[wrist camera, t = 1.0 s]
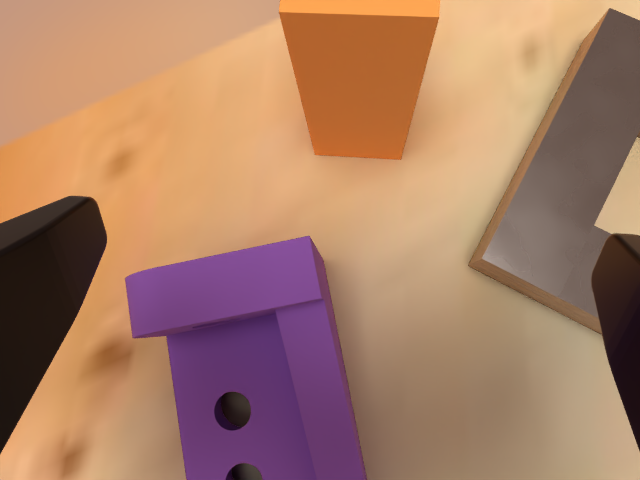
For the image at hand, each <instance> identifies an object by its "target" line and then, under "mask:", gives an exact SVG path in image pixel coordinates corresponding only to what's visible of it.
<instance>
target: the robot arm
mask: <svg viewBox="0 0 640 480" xmlns="http://www.w3.org/2000/svg"><path fill="white" fill-rule="evenodd" d="M106 244H107V234H106V230H105V227H104V224H103V220H102V217H101V214H100V210H99V207H98V204H97V202H96V201H95V200H94V199H93V198H91V197H85V196H68V197H65V198H63V199H60V200H58V201H55V202H53V203H50V204H48V205H45V206H43V207H40V208H38V209H35V210H33V211H30V212H28V213H25V214H23V215H20V216H18V217H15V218H13V219H10V220H8V221H5V222H3V223H0V454H1V452H2V450H3V448H4V447H5V445H6V443H7V441H8V439H9V438H10V436H11V434H12V432H13V430H14V429H15V427H16V425H17V423H18V421H19V420H20V418H21V416H22V414H23V412H24V411H25V409H26V407H27V405H28V403H29V402H30V400H31V398H32V396H33V394H34V393H35V391H36V389H37V387H38V385H39V384H40V382H41V380H42V378H43V376H44V374H45V373H46V371H47V369H48V367H49V365H50V364H51V362H52V360H53V358H54V356H55V355H56V353H57V351H58V349H59V347H60V346H61V344H62V342H63V340H64V338H65V337H66V335H67V333H68V331H69V329H70V328H71V326H72V324H73V322H74V320H75V318H76V316H77V314H78V312H79V310H80V308H81V306H82V303H83V301H84V299H85V296H86V294H87V291H88V289H89V286H90V284H91V282H92V279H93V277H94V274H95V272H96V270H97V267H98V265H99V262H100V260H101V257H102V255H103V253H104V250H105V248H106ZM591 285H592V290H593V295H594V299H595V304H596V308H597V313H598V318H599V322H600V327H601V331H602V336H603V341H604V345H605V350H606V354H607V358H608V362H609V365H610V368H611V371H612V374H613V377H614V380H615V383H616V385H617V388H618V391H619V394H620V397H621V400H622V402H623V405H624V408H625V411H626V414H627V417H628V420H629V422H630V425H631V428H632V431H633V434H634V437H635V439H636V442H637V445H638V448H639V451H640V236H639V235H633V234H618V233H615V234H612V235H610V236H609V237H608V238H607V239H606V241H605V243H604V246H603V248H602V250H601V252H600V255H599V257H598V259H597V262H596V264H595V266H594V269H593V271H592V276H591Z"/></svg>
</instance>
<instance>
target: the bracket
mask: <svg viewBox="0 0 640 480" xmlns="http://www.w3.org/2000/svg"><path fill="white" fill-rule="evenodd" d="M125 281H126V289H127V297H128V305H129V313H130V320H131V328H132V336H133V338H146V337H158V336H167V343H168V351H169V358H170V365H171V372H172V379H173V386H174V393H175V401H176V408H177V415H178V422H179V429H180V436H181V443H182V450H183V458H184V465H185V472H186V479H187V480H234V479H233V476H232V472H231V468H232V467H234V466H235V465H237V464H240V463H248V464H251V465H253V466H255V467H256V468H257V469H258V470H259V472H260V473H261V476H262V479H263V480H367V477H366V472H365V467H364V462H363V457H362V452H361V447H360V442H359V437H358V432H357V427H356V422H355V417H354V412H353V407H352V402H351V397H350V392H349V387H348V382H347V377H346V372H345V367H344V362H343V357H342V352H341V347H340V342H339V337H338V332H337V327H336V322H335V317H334V312H333V307H332V302H331V297H330V292H329V286H328V281H327V276H326V271H325V266H324V261H323V259H322V257H321V255H320V253H319V252H318V250H317V248H316V246H315V245H314V243H313V241H312V239H311V238H310V236H306V237H301V238H296V239H291V240H287V241H282V242H277V243H272V244H267V245H262V246H258V247H253V248H248V249H243V250H238V251H234V252H229V253H224V254H219V255H214V256H209V257H205V258H200V259H195V260H190V261H185V262H181V263H176V264H171V265H166V266H161V267H156V268H152V269H148V270H144V271H140V272H137V273H134V274H132V275H129V276H128V277H126V278H125ZM228 392H238V393H241V394H242V395H244V396H245V397H246V398H247V400H248V401H249V403H250V407H251V415H250V418H249V421H248V422H247V424H246V425H245V426H244V427H239V426H236V425H234V424H232V423H230V422H229V421H228V420H227V419H226V417H225V416H224V414H223V411H222V407H221V399H222V395H223V394H225V393H228Z"/></svg>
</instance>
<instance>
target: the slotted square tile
mask: <svg viewBox="0 0 640 480" xmlns="http://www.w3.org/2000/svg"><path fill="white" fill-rule="evenodd" d="M637 136H638V137H640V20H637V19H635V18H632V17H630V16H628V15H625V14H623V13H621V12H618V11H616V10H613V9H611V8H609V9H608V11H607V12H606V13H605V14H604V16H603V17H602V18H601V19H600V21H599V22H598V23H597V24H596V26H595V27H594V28H593V29H592V31H591V32H590V33H589V34H588V35H587V37H586V38H585V39H584V40H583V42H582V44H581V46H580V48H579V50H578V52H577V54H576V56H575V58H574V60H573V62H572V64H571V66H570V67H569V69H568V71H567V73H566V75H565V77H564V79H563V81H562V83H561V85H560V87H559V89H558V91H557V93H556V95H555V97H554V99H553V101H552V103H551V105H550V106H549V108H548V110H547V112H546V114H545V116H544V118H543V120H542V122H541V124H540V126H539V128H538V130H537V132H536V134H535V136H534V138H533V140H532V142H531V144H530V146H529V147H528V149H527V151H526V153H525V155H524V157H523V159H522V161H521V163H520V165H519V167H518V169H517V171H516V173H515V175H514V177H513V179H512V181H511V183H510V185H509V186H508V188H507V190H506V192H505V194H504V196H503V198H502V200H501V202H500V204H499V206H498V208H497V210H496V212H495V214H494V216H493V218H492V220H491V222H490V224H489V226H488V227H487V229H486V231H485V233H484V235H483V237H482V239H481V241H480V243H479V245H478V247H477V249H476V251H475V253H474V255H473V257H472V259H471V261H470V263H469V265H468V266H470V267H472V268H474V269H476V270H478V271H480V272H482V273H484V274H485V275H487V276H489V277H491V278H493V279H495V280H497V281H499V282H501V283H503V284H505V285H507V286H509V287H511V288H513V289H515V290H516V291H518V292H520V293H522V294H524V295H526V296H528V297H530V298H532V299H534V300H536V301H538V302H540V303H542V304H544V305H546V306H548V307H549V308H551V309H553V310H555V311H557V312H559V313H561V314H563V315H565V316H567V317H569V318H571V319H573V320H575V321H577V322H579V323H580V324H582V325H584V326H586V327H588V328H590V329H592V330H594V331H596V332H598V333H600V334H602V331H601V327H600V322H599V318H598V313H597V308H596V304H595V299H594V295H593V290H592V285H591V276H592V271H593V269H594V266H595V264H596V262H597V259H598V257H599V255H600V252H601V250H602V248H603V246H604V243H605V241H606V239H607V238H608V237H609V236H610V235H612V234H610V233H608V232H606V231H604V230H602V229H600V228H598V227H596V226H594V224H595V222H596V220H597V217H598V215H599V213H600V211H601V209H602V207H603V205H604V203H605V201H606V199H607V197H608V195H609V193H610V191H611V189H612V187H613V185H614V183H615V181H616V178H617V176H618V174H619V172H620V170H621V168H622V166H623V164H624V162H625V160H626V158H627V156H628V154H629V152H630V150H631V148H632V146H633V144H634V141H635V139H636V137H637Z"/></svg>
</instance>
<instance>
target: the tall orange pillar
mask: <svg viewBox="0 0 640 480" xmlns="http://www.w3.org/2000/svg"><path fill="white" fill-rule="evenodd" d="M439 10H440V0H280V6H279V14H280V18H281V22H282V26H283V30H284V34H285V38H286V42H287V46H288V50H289V54H290V58H291V62H292V66H293V70H294V74H295V78H296V81H297V85H298V89H299V93H300V97H301V101H302V105H303V109H304V113H305V117H306V121H307V125H308V129H309V133H310V137H311V141H312V145H313V149H314V153H315V155H329V156H347V157H364V158H382V159H400V160H401V157H402V153H403V149H404V146H405V142H406V138H407V135H408V131H409V127H410V123H411V120H412V116H413V112H414V109H415V105H416V101H417V97H418V94H419V90H420V86H421V83H422V79H423V75H424V71H425V68H426V64H427V60H428V57H429V53H430V49H431V46H432V42H433V38H434V34H435V31H436V27H437V23H438V20H439Z"/></svg>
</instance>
